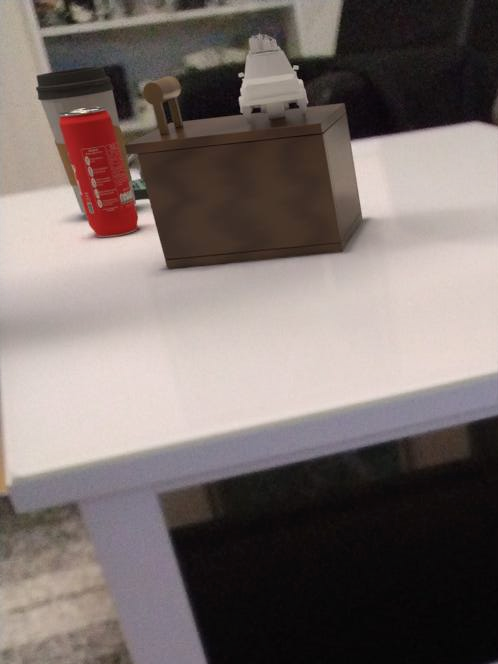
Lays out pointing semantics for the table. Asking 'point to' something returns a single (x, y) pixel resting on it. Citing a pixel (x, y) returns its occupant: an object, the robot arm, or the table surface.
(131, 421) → the table surface
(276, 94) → the toy car
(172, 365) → the table surface
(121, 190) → the beverage can
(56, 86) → the coffee cup
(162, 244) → the chest
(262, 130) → the lid
